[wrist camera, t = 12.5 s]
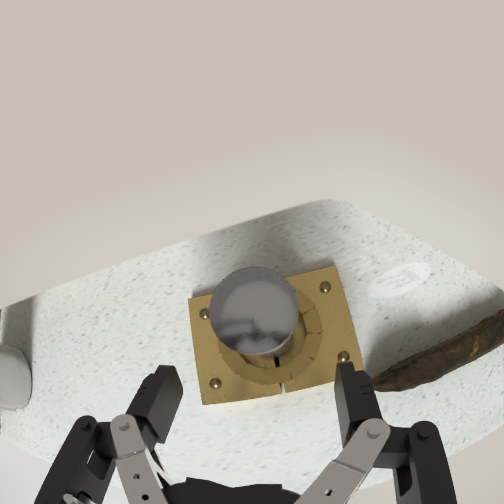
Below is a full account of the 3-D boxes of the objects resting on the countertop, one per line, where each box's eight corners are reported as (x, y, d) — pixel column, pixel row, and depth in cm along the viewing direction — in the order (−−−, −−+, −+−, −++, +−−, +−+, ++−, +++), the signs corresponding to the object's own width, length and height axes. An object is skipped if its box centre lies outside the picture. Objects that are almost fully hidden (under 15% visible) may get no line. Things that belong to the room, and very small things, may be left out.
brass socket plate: (206, 404, 22) (191, 408, 18) (191, 301, 26) (176, 289, 23) (362, 372, 21) (373, 371, 18) (334, 269, 25) (339, 252, 22)
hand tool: (503, 305, 20) (527, 291, 16) (511, 338, 18) (536, 328, 14) (359, 356, 22) (372, 351, 18) (366, 398, 20) (380, 402, 16)
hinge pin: (275, 373, 21) (259, 372, 12) (235, 341, 23) (192, 315, 14) (308, 332, 22) (316, 299, 13) (267, 303, 24) (247, 251, 15)
